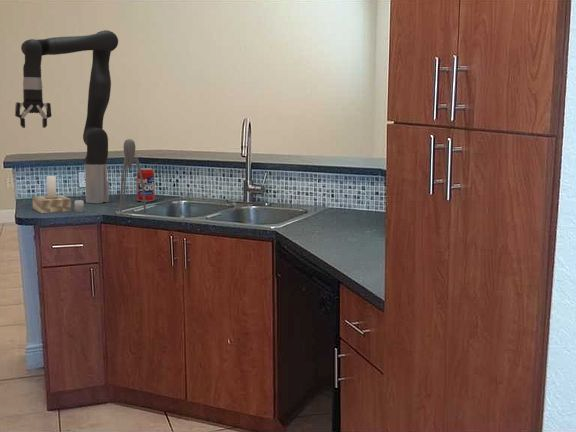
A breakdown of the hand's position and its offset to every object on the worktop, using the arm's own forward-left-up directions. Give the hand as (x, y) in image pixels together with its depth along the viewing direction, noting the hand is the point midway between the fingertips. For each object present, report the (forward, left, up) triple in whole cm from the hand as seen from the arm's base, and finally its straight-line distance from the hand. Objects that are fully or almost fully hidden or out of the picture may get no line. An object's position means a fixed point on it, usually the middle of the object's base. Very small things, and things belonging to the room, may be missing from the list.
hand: (33, 127), depth 301 cm
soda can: (-47, +8, -33) cm, 58 cm away
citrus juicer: (-28, +32, -33) cm, 54 cm away
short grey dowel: (-11, +24, -33) cm, 42 cm away
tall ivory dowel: (-2, +15, -33) cm, 36 cm away
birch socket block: (-2, +15, -33) cm, 36 cm away
